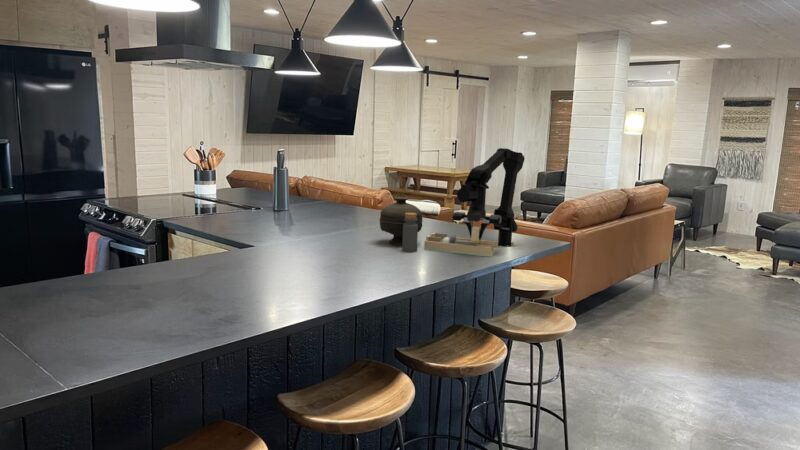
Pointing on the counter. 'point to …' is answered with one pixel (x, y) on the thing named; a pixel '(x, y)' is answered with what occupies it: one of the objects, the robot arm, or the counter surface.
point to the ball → (446, 240)
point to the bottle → (410, 233)
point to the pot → (398, 219)
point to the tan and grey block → (474, 238)
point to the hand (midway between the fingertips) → (475, 239)
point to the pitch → (464, 247)
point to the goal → (436, 237)
